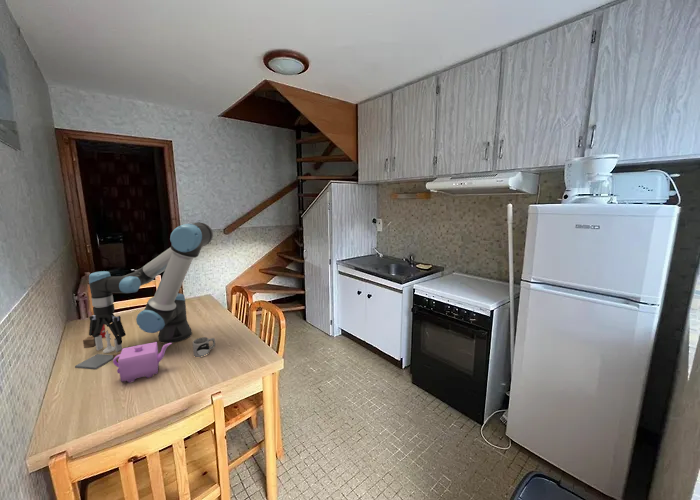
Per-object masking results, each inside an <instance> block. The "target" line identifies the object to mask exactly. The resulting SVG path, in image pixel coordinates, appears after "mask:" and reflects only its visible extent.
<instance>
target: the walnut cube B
mask: <svg viewBox="0 0 700 500" xmlns="http://www.w3.org/2000/svg"><path fill="white" fill-rule="evenodd" d="M121 352H122V350H120V351H118V352H114V353H113V354H112V355H113V359H114V358H115V357H116V356H117V355H119V354H121ZM118 359H119V358H117V359H116V362H117V363H118Z"/></svg>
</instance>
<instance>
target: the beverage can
mask: <svg viewBox="0 0 700 500" xmlns="http://www.w3.org/2000/svg"><path fill="white" fill-rule="evenodd" d="M93 315H94V314H93ZM93 315H91V316H93ZM105 334H107V333H106V325H105V324H104V325H103V327H102V330H101V334H100V335H102V339H104V338H106V337H105Z"/></svg>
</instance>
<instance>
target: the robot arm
mask: <svg viewBox="0 0 700 500" xmlns="http://www.w3.org/2000/svg"><path fill="white" fill-rule="evenodd" d="M213 237H214V232H213V230H212V228H211V227H210V226H209V224H207V223H204V222H199V221H198V222H193V223H184V224H181V225H178V226H177V227H176V228H174V229H173V230H172V232H171V233H170V238H169V240H170V243H171V245H170V247H169V248H167V249H166V250H164V251H163V252H161V253H160V254H158V256H156V257H154V258H153V259H152V260H151V261H149V262H147V263H146V264H145V265H143V266H142V267H141V268H139V269H138V270H136V271H133V272H131V273H128V274H126V275H122V276H121V275H119V276H114V275H113V276H111V273H110V271H107V270H106V271H105V270H103V271H102V270H101V271H95V272H92V273H90V274H89V275H88V285H89V289H90V295H91V306H92V311H93V316H92V315H90V316H89V321H90V322H89V330H88V336H89V337H91V336H93V337H94V342H95V343H96V346H95V348H96V349H95V350H96V351H97V352H99V351H100V350H103V348H104V343H103V338H102V335H100V334H101V330H102V327H103V325H104V324H105V326H106V327H108V328H109V330H110V332H111V333H112V335H113V336H114V339H113V341H114V347H115V353H117V352H120V351H122V349H123V346H122V345H123V339H122V338H123V337H125V336H126V335H127V334H126V332H125V329H124V325H123V322H122V319H121V315H118V316H116V315H115V314H114V312H115V310H116V309H115V304H114V296H113V295H114V294H131V293H137V292H138V291H139V289H140V288H141V287H142V286H145V285H147V284H149V283H151V282H152V281H153V280H154V279H155V278H156V277H157V276H159V275H161V274H162V273H163V274H162V276H161V279H160V282H159V283H158V285H157V289H156V291H155V293H154V296H153V297H150V298H149V299H148V301H147V303H146V305H145V307H144V309H143V310H141V311H140V312H139V313H138V314H137V316H136V324H137V326H139V329H140V330H141V331H143V332H145V333H148V334H155V333H158V335H157V338H158V342H159V343H162V344H167V343H172V344H173V343H174V344H175V343H178V342H182V341H185V340H186V339H188V338H190V337H191V336H192V335H193V334H192V332H193V331H192V328H191V327H190V324H189V322H188V319H187V307H186V306H187V305H186V297H185V295H184V294H183V293H179V292H180V290H181V288H182V285H183V282H184V280H185V277H186V275H187V273H188V272H189V269H190V266H191V264H192V262H193V260H194V259H197V257H199V255H200V251H201V250H202V248H203V247H206V246H207V245H209V244H210V243H211V241H212V240H213Z"/></svg>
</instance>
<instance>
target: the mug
mask: <svg viewBox="0 0 700 500" xmlns="http://www.w3.org/2000/svg"><path fill="white" fill-rule="evenodd" d="M211 341H212V345H211V346H210V342H211ZM215 347H216V339H215V338H214V337H211V338H208V337H199V338H195V339H194V340H192V350H193V351H192V352H193V357H194V356H195V357H194V358H196V357H200V358H202V357H201V356H204V355H206V354H208V353H209V352H210V351H211V350H212V349H214V348H215ZM209 354H210V353H209ZM209 354H208V355H209ZM204 357H205V356H204Z"/></svg>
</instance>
